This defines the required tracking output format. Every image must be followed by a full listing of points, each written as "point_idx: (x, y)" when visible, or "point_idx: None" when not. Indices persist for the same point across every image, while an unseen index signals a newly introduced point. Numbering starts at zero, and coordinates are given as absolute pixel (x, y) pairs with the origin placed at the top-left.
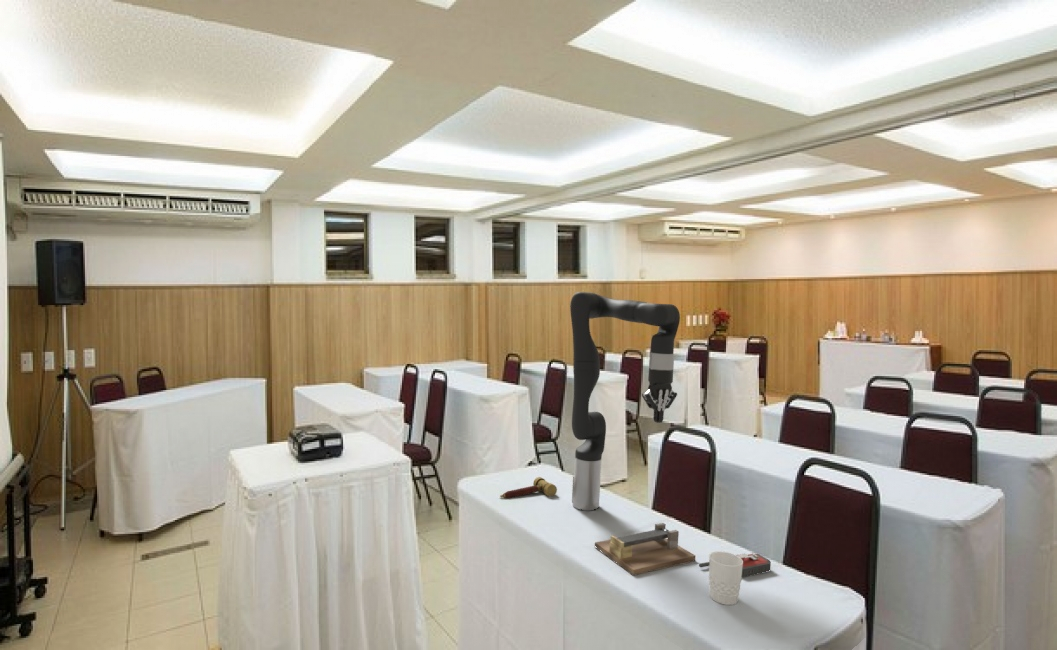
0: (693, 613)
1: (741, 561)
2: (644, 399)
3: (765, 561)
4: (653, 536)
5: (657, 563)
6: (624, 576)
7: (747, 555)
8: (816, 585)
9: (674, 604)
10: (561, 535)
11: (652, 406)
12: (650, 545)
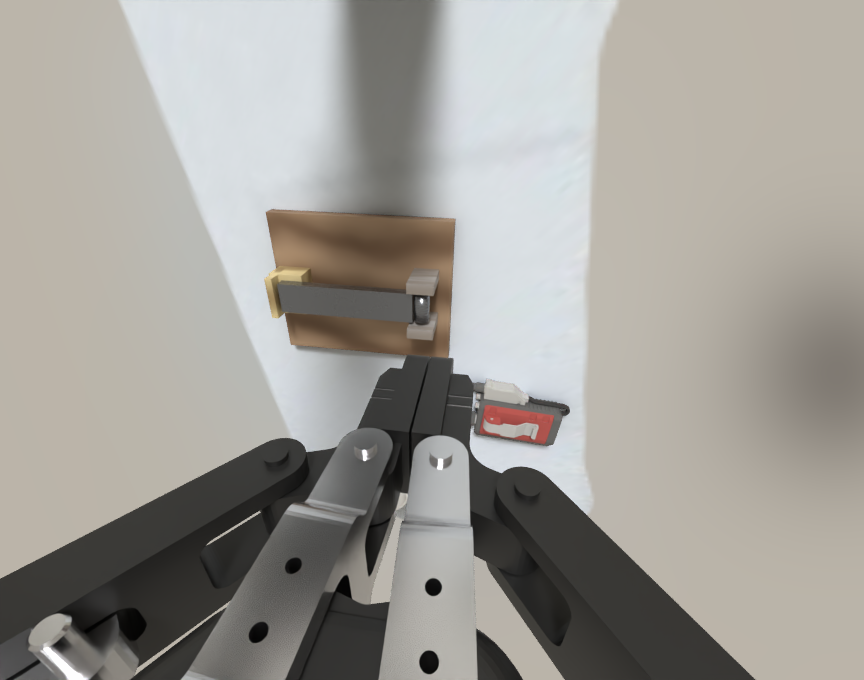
0: (324, 443)
1: (401, 504)
2: (81, 546)
3: (542, 441)
4: (368, 318)
5: (349, 347)
6: (278, 334)
7: (513, 433)
8: (568, 485)
9: (312, 421)
10: (210, 101)
11: (246, 537)
12: (387, 284)
